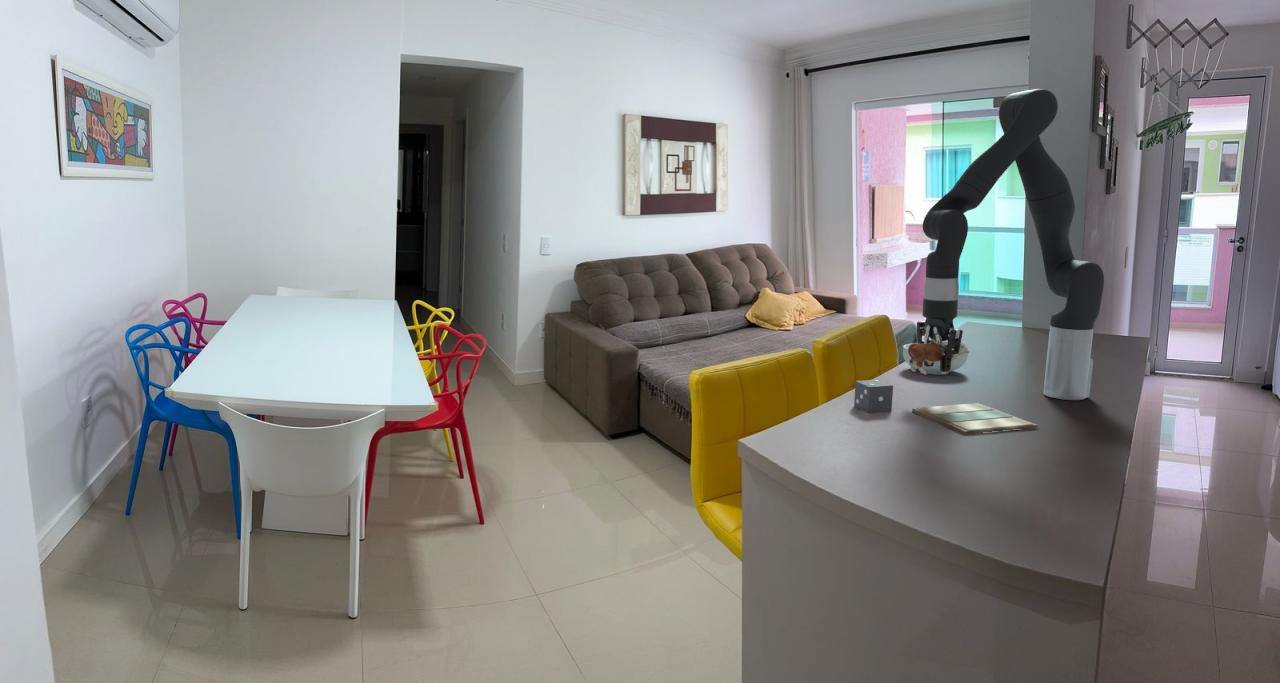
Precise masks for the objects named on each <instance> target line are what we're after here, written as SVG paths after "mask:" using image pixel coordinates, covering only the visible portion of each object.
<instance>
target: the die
mask: <svg viewBox="0 0 1280 683" xmlns="http://www.w3.org/2000/svg"><path fill="white" fill-rule="evenodd" d="M893 393H894V385H893V384H891V383H888V382H887V381H886V382H885V381H883V380H880V379H867V380H855V383H854V402H853V406H854V407H856V408H857V409H859V410H861V411H864V412H865V413H869V414H871V413H882V412H883V413H884V412H892V407H893Z"/></svg>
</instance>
